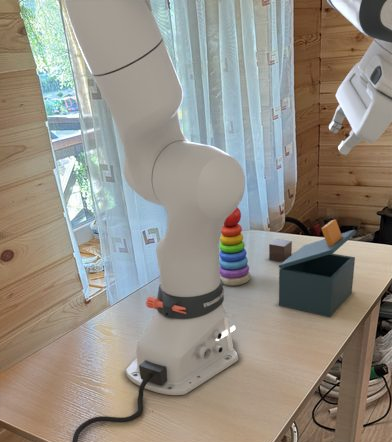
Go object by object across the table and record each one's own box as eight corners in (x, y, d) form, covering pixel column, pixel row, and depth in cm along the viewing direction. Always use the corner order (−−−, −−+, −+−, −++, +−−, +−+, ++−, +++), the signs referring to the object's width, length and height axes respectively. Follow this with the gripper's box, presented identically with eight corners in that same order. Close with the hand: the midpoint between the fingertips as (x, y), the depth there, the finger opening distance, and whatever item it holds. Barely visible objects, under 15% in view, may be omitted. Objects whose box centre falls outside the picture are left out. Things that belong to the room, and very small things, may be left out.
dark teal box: (351, 293, 117) (355, 257, 112) (329, 317, 109) (332, 279, 104) (303, 283, 123) (304, 248, 119) (278, 305, 115) (279, 269, 110)
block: (284, 262, 135) (284, 246, 132) (269, 259, 137) (269, 244, 135) (291, 256, 138) (291, 241, 135) (276, 254, 140) (276, 238, 138)
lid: (356, 232, 110) (348, 211, 108) (333, 253, 101) (324, 230, 100) (305, 248, 118) (297, 229, 117) (279, 268, 110) (271, 248, 109)
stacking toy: (250, 272, 131) (248, 199, 121) (250, 286, 124) (248, 209, 114) (219, 273, 132) (215, 201, 122) (217, 287, 125) (213, 211, 115)
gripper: (356, 43, 96) (314, 112, 105) (385, 82, 81) (333, 158, 90) (383, 59, 98) (339, 126, 106) (416, 99, 83) (361, 172, 92)
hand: (336, 141), depth 98 cm, fingers open, 8 cm apart
